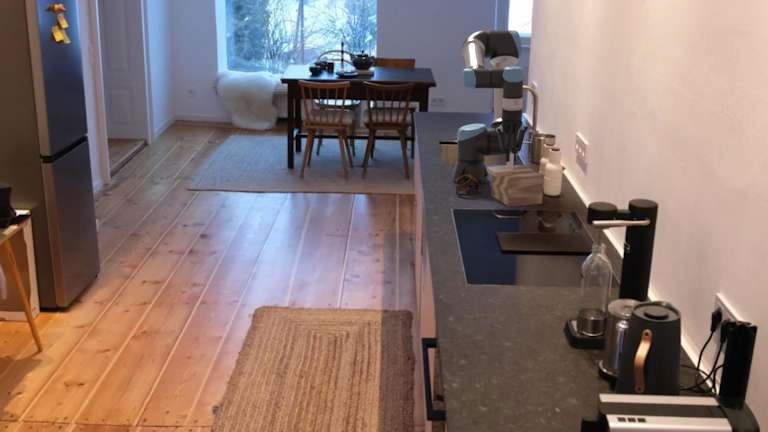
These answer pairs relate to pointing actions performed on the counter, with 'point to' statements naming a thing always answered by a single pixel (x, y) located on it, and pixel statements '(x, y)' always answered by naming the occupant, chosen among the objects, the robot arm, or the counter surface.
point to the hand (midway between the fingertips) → (509, 169)
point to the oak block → (518, 187)
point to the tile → (499, 171)
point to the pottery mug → (467, 183)
